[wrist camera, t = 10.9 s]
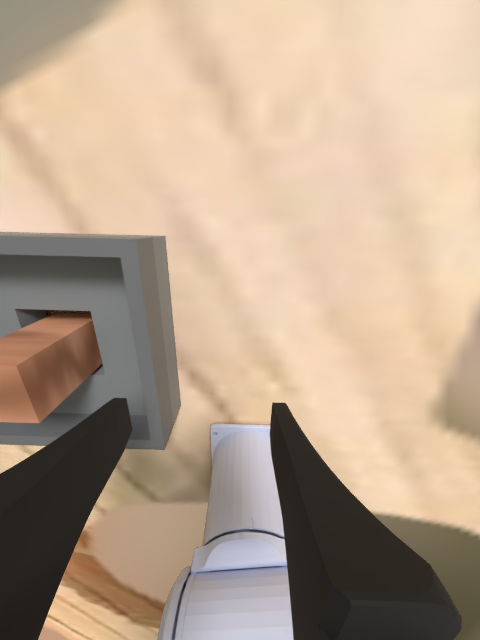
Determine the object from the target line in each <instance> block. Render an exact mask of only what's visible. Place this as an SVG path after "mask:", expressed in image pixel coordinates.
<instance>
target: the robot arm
mask: <svg viewBox="0 0 480 640" xmlns="http://www.w3.org/2000/svg"><path fill="white" fill-rule="evenodd" d="M132 430H133V428H132V423H131V418H130V413H129V409H128V404H127V399H126V398H113V399H111V400H110V401H109V402H107V403H106V404H104V405H103V406H102V407H100V408H99V409H98V410H96V411H95V412H94V413H92V414H91V415H90V416H88V417H87V418H85V419H84V420H83V421H81V422H80V423H79V424H77V425H76V426H75V427H73V428H72V429H70V430H69V431H68V432H66V433H65V434H63V435H62V436H60V437H59V438H57V439H56V440H54V441H53V442H51V443H50V444H48V445H47V446H46V447H44V448H43V449H41V450H39V451H38V452H36V453H35V454H33V455H31V456H30V457H28V458H27V459H25V460H23V461H22V462H20V463H18V464H17V465H15V466H13V467H12V468H10V469H8V470H6V471H5V472H3V473H1V474H0V640H38V638H39V635H40V633H41V630H42V627H43V625H44V622H45V619H46V617H47V614H48V611H49V609H50V607H51V604H52V602H53V599H54V597H55V594H56V592H57V589H58V587H59V584H60V582H61V579H62V577H63V574H64V572H65V569H66V567H67V565H68V562H69V560H70V558H71V555H72V553H73V551H74V548H75V546H76V544H77V541H78V539H79V537H80V535H81V532H82V530H83V528H84V526H85V524H86V521H87V519H88V517H89V515H90V513H91V511H92V509H93V507H94V505H95V503H96V501H97V499H98V497H99V496H100V494H101V492H102V490H103V488H104V487H105V485H106V483H107V481H108V479H109V478H110V476H111V474H112V472H113V470H114V469H115V467H116V465H117V463H118V461H119V459H120V457H121V456H122V454H123V452H124V450H125V447H126V445H127V443H128V440H129V438H130V435H131V432H132ZM210 433H211V462H212V479H211V486H210V494H209V501H208V509H207V517H206V524H205V532H204V539H203V546H202V547H197V548H195V549H194V554H193V560H192V566H191V567H186V568H184V569H183V570H182V572H181V573H180V575H179V576H178V578H177V580H176V582H175V583H174V585H173V587H172V588H171V591H170V593H169V595H168V598H167V601H166V604H165V607H164V611H163V615H162V619H161V623H160V628H159V633H158V638H157V640H453V639H454V638H455V637H456V636H457V635H458V633H459V632H460V630H461V627H462V618H461V616H460V614H459V612H458V610H457V608H456V607H455V605H454V603H453V601H452V600H451V598H450V596H449V594H448V592H447V591H446V589H445V587H444V586H443V584H442V583H441V581H440V580H439V578H438V577H437V575H436V573H435V572H434V570H433V569H432V567H431V565H430V564H428V563H427V562H426V561H425V560H424V559H423V558H421V557H420V556H419V555H418V554H416V553H415V552H414V551H413V550H412V549H411V548H409V547H408V546H407V545H406V544H405V543H404V542H402V541H401V540H400V539H399V538H398V537H396V536H395V535H394V534H393V533H392V532H391V531H390V530H389V529H388V528H387V527H385V526H384V525H383V524H382V523H381V522H380V521H379V520H378V519H377V518H376V517H375V516H374V515H373V514H372V513H371V512H370V511H369V510H368V509H367V508H366V507H365V506H364V505H363V504H362V503H361V502H360V501H359V500H358V499H357V498H356V497H355V496H354V495H353V494H352V493H351V492H350V491H349V490H348V489H347V488H346V487H345V485H344V484H343V483H342V482H341V481H340V480H339V479H338V478H337V476H336V475H335V474H334V473H333V472H332V471H331V469H330V468H329V467H328V466H327V464H326V463H325V462H324V461H323V459H322V458H321V457H320V455H319V454H318V453H317V451H316V450H315V449H314V447H313V446H312V445H311V443H310V442H309V440H308V439H307V437H306V436H305V434H304V433H303V431H302V430H301V428H300V427H299V425H298V423H297V422H296V420H295V419H294V417H293V415H292V413H291V412H290V410H289V408H288V406H287V405H286V403H273V404H272V414H271V425H248V424H218V423H215V424H212V425H211V429H210Z"/></svg>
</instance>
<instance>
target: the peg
mask: <svg viewBox="0 0 480 640" xmlns="http://www.w3.org/2000/svg"><path fill="white" fill-rule="evenodd" d="M101 364H102V359H101V355H100V350H99V346H98V342H97V337H96V333H95V329H94V325H93V320H92V316H91V313H55V314H52V315H50V316H48V317H46V318H44V319H41V320H39V321H37V322H35V323H32V324H30V325H28V326H26V327H24V328H21V329H19V330H17V331H15V332H12V333H10V334H8V335H6V336H4V337H1V338H0V422H13V423H40V422H41V421H42V420H43V419H45V418H46V417H47V416H48V415H49V414H50V413H51V412H52V411H53V410H54V409H55V408H56V407H57V406H58V405H59V404H60V403H61V402H62V401H63V400H64V399H66V398H67V397H68V396H69V395H70V394H71V393H72V392H73V391H74V390H75V389H76V388H77V387H78V386H79V385H80V384H81V383H82V382H83V381H84V380H85V379H87V378H88V377H89V376H90V375H91V374H92V373H93V372H94V371H95V370H96V369H97V368H98V367H99V366H100V365H101Z"/></svg>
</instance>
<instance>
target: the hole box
mask: <svg viewBox="0 0 480 640" xmlns="http://www.w3.org/2000/svg"><path fill="white" fill-rule="evenodd" d="M46 310H73V311H90V312H91V316H92V320H93V325H94V329H95V333H96V337H97V342H98V346H99V350H100V355H101V359H102V364H101V365H100V366H99V367H98V368H97V369H96V370H95V371H94V372H93V373H92V374H91V375H90V376H89V377H88V378H87V379H85V380H84V381H83V382H82V383H81V384H80V385H79V386H78V387H77V388H76V389H75V390H74V391H73V392H72V393H71V394H70V395H69V396H68V397H67V398H66V399H64V400H63V401H62V402H61V403H60V404H59V405H58V406H57V407H56V408H55V409H54V410H53V411H52V412H51V413H50V414H49V415H48V416H47V417H46V418H45V419H43V420H42V421H41V422H40V423H13V422H0V444H7V445H37V446H47V445H48V444H50V443H51V442H53V441H54V440H56V439H57V438H59V437H60V436H62V435H63V434H65V433H66V432H68V431H69V430H70V429H72V428H73V427H75V426H76V425H77V424H79V423H80V422H81V421H83V420H84V419H85V418H87V417H88V416H90V415H91V414H92V413H94V412H95V411H96V410H98V409H99V408H100V407H102V406H103V405H104V404H106V403H107V402H109V401H110V400H111V399H113V398H126V399H127V404H128V409H129V413H130V418H131V423H132V428H133V430H132V432H131V435H130V438H129V440H128V443H127V445H126V447H125V448H126V449H156V450H165V447H166V445H167V442H168V439H169V436H170V434H171V431H172V428H173V425H174V423H175V420H176V417H177V414H178V412H179V409H180V406H181V402H180V392H179V381H178V370H177V359H176V349H175V338H174V327H173V316H172V306H171V295H170V284H169V273H168V262H167V252H166V241H165V236H140V235H100V234H60V233H19V232H0V338H1V337H4V336H6V335H8V334H10V333H12V332H15V331H17V330H19V329H21V328H24V327H26V326H28V325H30V324H32V323H35V322H37V321H39V320H41V319H44V318H46V317H48V315H47V312H46Z"/></svg>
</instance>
